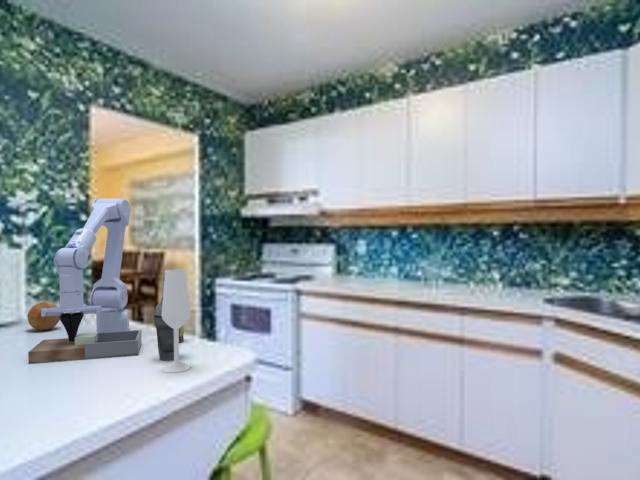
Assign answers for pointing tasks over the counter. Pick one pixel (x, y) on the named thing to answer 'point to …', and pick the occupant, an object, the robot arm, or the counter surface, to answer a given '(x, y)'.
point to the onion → (45, 321)
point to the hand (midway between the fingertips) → (72, 340)
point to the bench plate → (56, 351)
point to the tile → (86, 338)
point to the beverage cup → (164, 335)
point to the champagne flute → (175, 311)
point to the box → (114, 345)
